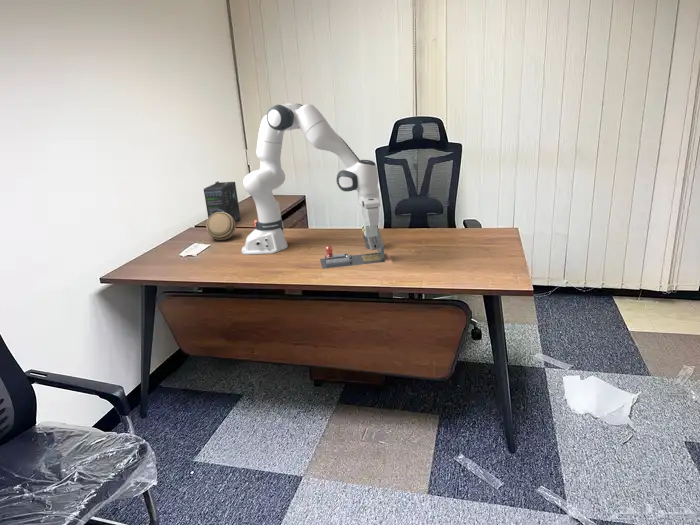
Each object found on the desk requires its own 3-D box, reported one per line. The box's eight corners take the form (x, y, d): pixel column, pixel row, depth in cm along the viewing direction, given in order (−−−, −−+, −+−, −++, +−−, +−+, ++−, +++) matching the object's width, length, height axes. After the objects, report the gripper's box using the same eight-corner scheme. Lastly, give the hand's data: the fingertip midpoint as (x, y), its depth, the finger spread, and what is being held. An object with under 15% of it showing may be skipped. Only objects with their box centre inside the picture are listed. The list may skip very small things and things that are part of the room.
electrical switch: (372, 252, 221) (370, 232, 219) (363, 251, 225) (361, 232, 222) (384, 246, 228) (382, 227, 226) (375, 246, 231) (373, 227, 229)
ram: (327, 263, 207) (325, 247, 205) (326, 261, 210) (325, 245, 207) (352, 260, 208) (351, 245, 206) (351, 258, 211) (350, 243, 208)
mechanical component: (203, 241, 258) (198, 213, 253) (226, 234, 268) (222, 207, 263) (219, 245, 248) (215, 217, 244) (243, 237, 259) (239, 210, 254)
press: (322, 270, 202) (321, 255, 200) (320, 261, 214) (318, 246, 212) (385, 264, 205) (384, 248, 203) (379, 254, 217) (378, 239, 215)
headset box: (222, 220, 300) (216, 178, 292) (241, 219, 299) (235, 177, 290) (209, 230, 279) (201, 185, 271) (229, 229, 278) (222, 184, 269)
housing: (363, 237, 204) (362, 226, 203) (361, 234, 209) (360, 223, 207) (377, 236, 205) (377, 224, 203) (375, 232, 210) (374, 221, 208)
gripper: (357, 195, 211) (359, 225, 216) (365, 205, 192) (367, 238, 197) (371, 194, 212) (373, 224, 216) (380, 203, 193) (382, 236, 197)
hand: (370, 231), depth 206 cm, fingers closed on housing, 5 cm apart
